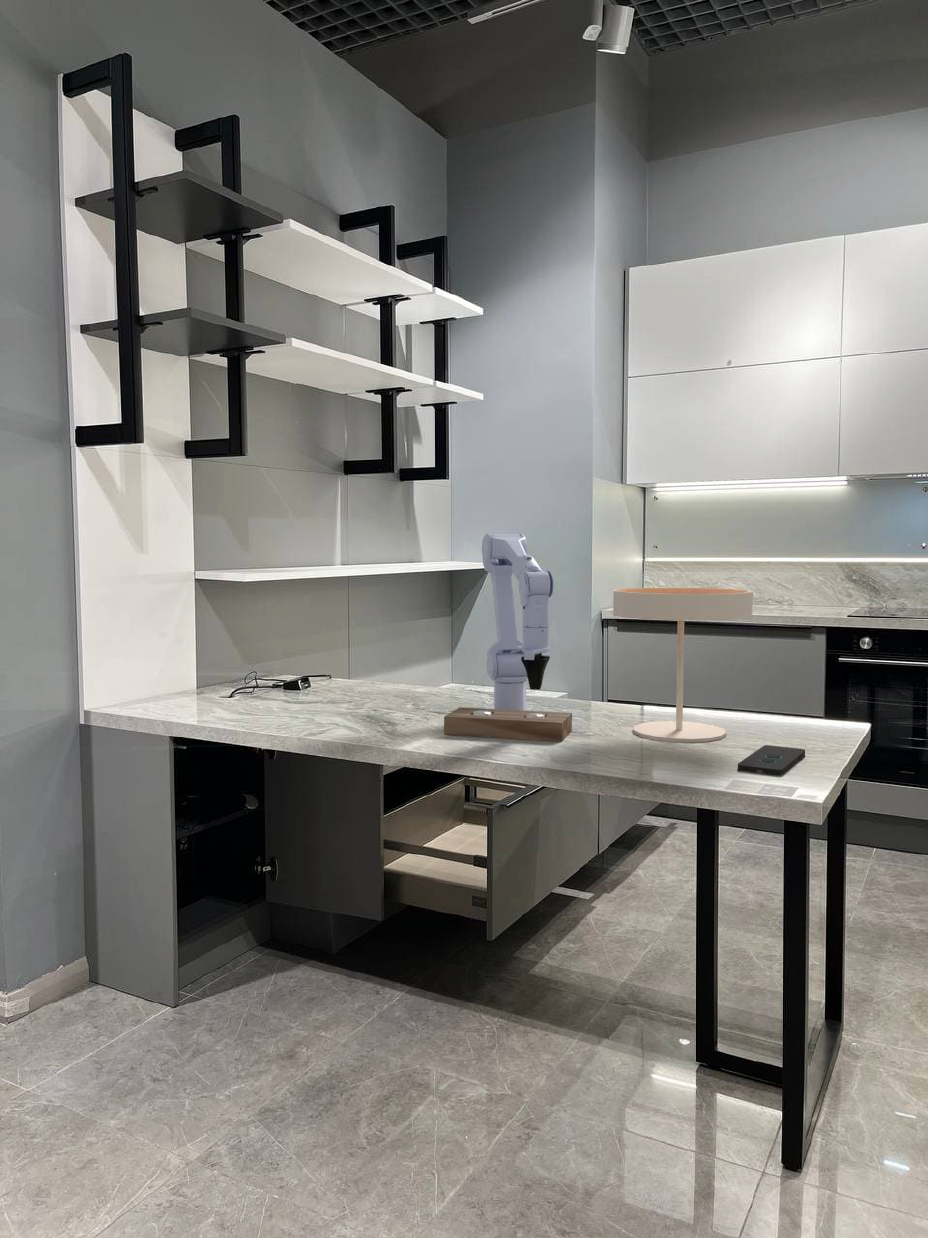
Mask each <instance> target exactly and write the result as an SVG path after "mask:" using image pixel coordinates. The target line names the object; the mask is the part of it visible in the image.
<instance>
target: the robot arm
mask: <svg viewBox="0 0 928 1238" xmlns="http://www.w3.org/2000/svg"><path fill="white" fill-rule="evenodd" d="M481 544H482V545H481V555H482V564H483V569H484V571H486V572H487V573H489V574H490V579H491V584H492V593H493V595H492V596H493V605H494V606H493V607H494V615H495V618H494V619H495V626H496V627H495V628H496V636H497V637H496V639H497V641H495V642H494V643H492V645H490V646H489V648H488V650H487V652H486V655H487V656H486V659H487V660H486V671H487V675H488V677H489V679H490V680H492V681H493V709H503V710H524V711H527V687H526V685H525V682H528V686H529V690H536V691H537V690H538V691H539V690H541V689H542V686H543V685H542V684H543V680H544V677H545V676H544V675H545V670H546V668H547V666H548V663H549V660H550V657H551V656H550V655H543V653H544V654H545V653H547V652H548V653H549V652H550V651H551V648H550V598H551V597H552V595H553V592H554V585H555V583H554V576H553V574H552V572H551V571H550V570H542V568H541V566H539V564H538V562H537V561H536V559H535V558H534V557H533V556H532V555H531V554H527V553H528V552H527V551H528V542H527V537H526V536H525V535H524V533H518V534H517V533H516V534H515V533H513V534H512V533H511V534H510V533H509V534H508V533H504V534H503V533H499V534H495V533H494V534H493V533H491V534H490V533H485V535H484V536H483V538H482V543H481ZM513 575H514V577H515V579H516V580H517V582H518V592H519V596H520V601H519V602H520V606H522V640H520V639H519V638H518V632H517V622H516V621H517V619H516V612H515V609H516V608H515V602H514V592H513V591H514V590H513V581H512V579H513V578H512V576H513Z"/></svg>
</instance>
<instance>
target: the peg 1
mask: <svg viewBox="0 0 928 1238" xmlns="http://www.w3.org/2000/svg"><path fill="white" fill-rule="evenodd" d="M473 715H486V716H490V715H491V712H490V711H474V712H473Z"/></svg>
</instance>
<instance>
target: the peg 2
mask: <svg viewBox="0 0 928 1238" xmlns="http://www.w3.org/2000/svg"><path fill="white" fill-rule="evenodd" d="M526 718H545V715H544V714H540V713H530V714H526Z"/></svg>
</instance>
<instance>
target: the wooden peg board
mask: <svg viewBox="0 0 928 1238" xmlns="http://www.w3.org/2000/svg"><path fill="white" fill-rule="evenodd" d="M474 711H490V712H491V715H490V716H486V715H473V712H474ZM530 713H540V714H544V715H545V718H526V714H530ZM572 731H573V712H565V711H564V712H563V711H559V712H558V711H540V710H526V711H524V710H503V709H494V708H483V707H482V708H479V707H460V706H459V707H458V708H456V709H455V710H453V711H451V712H449V713H447V714H446V715H444V716H443V735H444V736H445V735H447V736H457V737H458V736H461V737H478V738H479V737H480V738H494V739H495V738H496V739H510V740H511V739H513V740H514V739H515V740H531V741H544V742H545V741H547V742H563V741H564V740H565V739H566V738H567V737H568V736H569V735H570V733H571V732H572Z"/></svg>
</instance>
